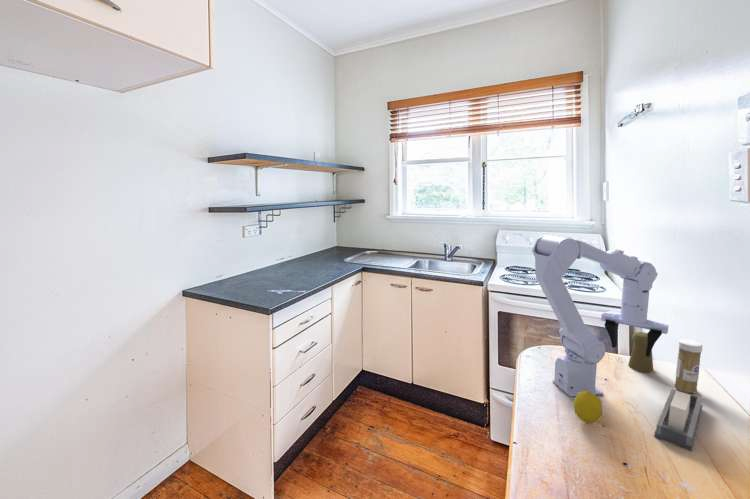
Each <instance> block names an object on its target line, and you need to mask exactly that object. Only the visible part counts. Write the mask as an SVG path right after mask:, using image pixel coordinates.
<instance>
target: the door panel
mask: <svg viewBox="0 0 750 499" xmlns="http://www.w3.org/2000/svg"><path fill="white" fill-rule="evenodd" d="M679 391H680V390H679ZM679 391H676V392H675V394H674V397H673V399H672V402H671V405H670V412H669V422H668V427H671V428H674V429H677V430H679V431H682V432H684V431H685V427H686V424H687V420H688V414H689V405H690V396H691V395H689V394H690V393H689V394H686V393H687V392H686V393H682V392H683V391H682V392H679Z"/></svg>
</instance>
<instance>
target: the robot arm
mask: <svg viewBox="0 0 750 499" xmlns="http://www.w3.org/2000/svg"><path fill="white" fill-rule="evenodd" d="M531 251H532V252H531V253H532V254H533V256H534V266H535V267H534V269H535V278H536V281H537V282H538V283H539V284H538V285H539V286H540V288H541V290H542V292H543V294H544V295H545V298H546V300H547V301H548V303H549V305H550V307H551V309H552V312H553V313H554V315H555V318H556V319H557V321H558V323H559V325H560V329H559V330H558V332H559V335H560V343H561V346H562V347H563V348H564V353H565V355H563V356H562V357H561V356H560V357H558V358H556V359H555V362H554V378H553V379H552V382H553V383H555V385H557V386H558V387H559V388H560V389H561V390H562V392H564V393H565V394H566V395H567V396H569V397H576V396H577V394H578V393H580V392H583V391H590V392H591V393H593V394H595V395H596V396H597V395H603V394H604V392H603V390H601V389H600V388H598V387H597V386H596V382H597V381H596V380H597V367H598V364H599V363H600V361H602V360H603V359H604V357H605V354H606V345H605V344H604V343H603V342H602V341H600V340H599V339H598V338H597V336H596V334H595V333H594V332H592V330H590V329H589V328H588V327H587V325H586V324H585V322H584V320H583V319H582V317H581V315H580V312H579V310H578V308H577V306H576V305H575V302H574V301H573V298H572V297H571V294H570V292H569V290H568V289H567V286H566V284H565V282H564V280H563V278H562V276H563V275H565V274H566V272H568V270H569V268H571V266H572V265H573V264H574V262H575V261H576V260H579V259H582V258H584V259H587V260H590V261H594V262H595V263H599V266H600V268H601V270H604V271H606V272H608V273H611V274H613V275H616V276H619V277H620V279H623V280H622V292H621V293H622V295H621V304H620V305H621V306H620V314H618V313H608V312H602V313H601V317H600V318H601V319H600V321H603V322H604V327H605V329H606V331H607V333H608V336H609V339H610V343H611V348H614V349H615V348H616V347H617V346H618V345H617V344H618V332H619V331H618V330H619V326H620V325H624V326H630V327H636V328H639V329H645V330H648V332H647V333H648V342H647V350H646V356H648V357H649V356H650V355H651V351H652V352H653V347H654V346H655V344H656V342H657V341H658V340H659V339H660V337H661V336H662V334H665V335H667V334H668V333H669V324H666V323H665V324H664V323H660V322H659V321H653V320H650V319H648V311H649V310H648V309H649V299H650V291H651V289H652V288H653V283H654V281H655V280H656V279H657V277H658V274H659V273H658V272H657V269H656V268H655V266H654V265H653V263H650V262H648V261H642V260H639V258H638V257H637V256H633V255H631V256H630V255H627V254H624V253H625V251H624V250H621V249H615V250H614V249H613V250H612V249H611V250H607V251H604V250H603V249H600V248H598V247H595V246H593V245H591V244H589V243H586V242H585V241H581V240H577V239H574V238H569V237H567V238H566V237H559V236H553V235H551V234H543V235H541V236H539V237H538V238H537V239H536V241H535V243H534V246H533V248H532V250H531Z"/></svg>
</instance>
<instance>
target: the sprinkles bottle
mask: <svg viewBox="0 0 750 499" xmlns="http://www.w3.org/2000/svg"><path fill="white" fill-rule="evenodd" d="M677 346H678V353H677V360H676V361H677V362H676V370H675V381H674V382H675V383H674V388H675V389H676V390H679V391H682V392H686V393H689V394H696V393H698V381H699V375H700V365H701V364H700V363H701V353H702V352H703V344H702V343H701V342H698V341H696V340H692V339H688V338H687V339H686V338H684V339H683V338H682V339H679V341H678V345H677Z"/></svg>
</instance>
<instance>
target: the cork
mask: <svg viewBox="0 0 750 499" xmlns="http://www.w3.org/2000/svg"><path fill="white" fill-rule="evenodd" d="M631 338H632V341H633V345H632V349H631V354H630V357H629V361H628V364H627V366H628V367H629V368H630V369H632V370H634V371H637V372H640V373H646V374H647V373H648V374H649V373H651V374H652V373H653V372H654V360H653V350H652V351H651V355H650V356H649V357H648V356H646V350H647V342H648V332H643V331H637V332H634V333H633V334H632V337H631Z"/></svg>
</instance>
